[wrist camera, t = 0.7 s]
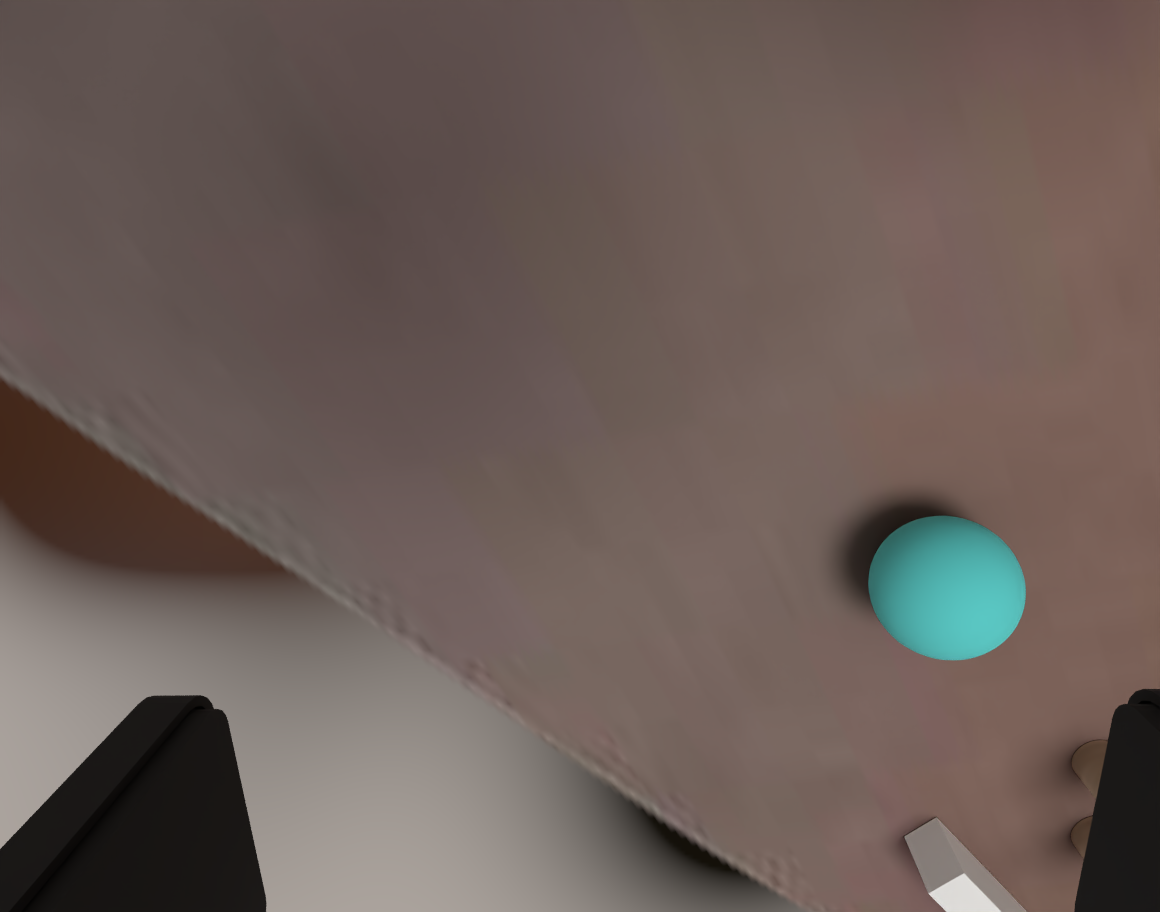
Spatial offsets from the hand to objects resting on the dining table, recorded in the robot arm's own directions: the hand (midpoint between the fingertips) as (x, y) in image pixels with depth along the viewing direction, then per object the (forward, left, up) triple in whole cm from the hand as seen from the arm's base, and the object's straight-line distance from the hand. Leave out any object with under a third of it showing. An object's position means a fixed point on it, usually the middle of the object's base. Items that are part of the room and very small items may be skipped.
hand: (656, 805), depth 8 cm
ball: (-3, +16, -23) cm, 29 cm away
